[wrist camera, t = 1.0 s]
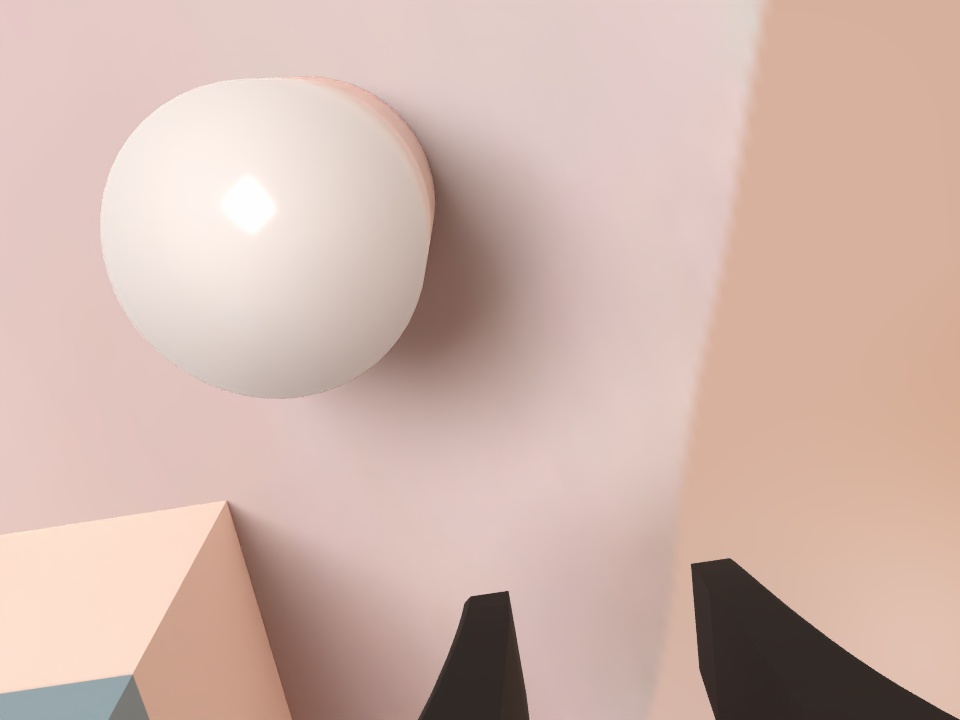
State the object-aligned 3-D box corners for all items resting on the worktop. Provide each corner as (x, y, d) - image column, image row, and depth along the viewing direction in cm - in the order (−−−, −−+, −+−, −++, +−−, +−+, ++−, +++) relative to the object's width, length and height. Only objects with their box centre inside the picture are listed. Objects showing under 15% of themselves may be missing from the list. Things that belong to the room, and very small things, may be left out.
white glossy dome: (453, 294, 22) (451, 373, 16) (232, 329, 22) (154, 419, 16) (411, 57, 20) (392, 51, 14) (169, 98, 20) (54, 109, 14)
